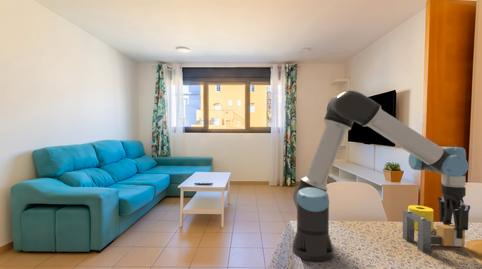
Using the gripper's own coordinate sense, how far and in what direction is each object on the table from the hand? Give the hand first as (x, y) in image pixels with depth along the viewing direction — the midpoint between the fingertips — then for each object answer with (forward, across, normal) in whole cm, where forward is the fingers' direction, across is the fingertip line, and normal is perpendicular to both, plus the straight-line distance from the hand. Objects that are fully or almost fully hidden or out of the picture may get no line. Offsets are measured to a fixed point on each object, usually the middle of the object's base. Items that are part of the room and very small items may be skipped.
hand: (452, 243), depth 102 cm
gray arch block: (+1, 0, +14) cm, 14 cm away
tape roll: (+1, +20, 0) cm, 20 cm away
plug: (0, 0, +4) cm, 4 cm away
